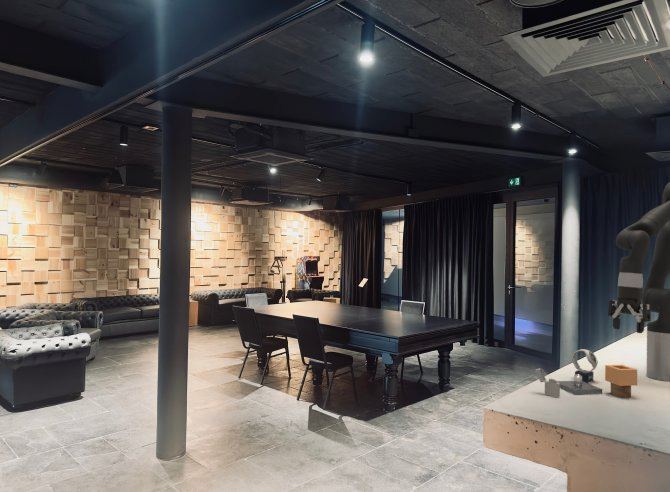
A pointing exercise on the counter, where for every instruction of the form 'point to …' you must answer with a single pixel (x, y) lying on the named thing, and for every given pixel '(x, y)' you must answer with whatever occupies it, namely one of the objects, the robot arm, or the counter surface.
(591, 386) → the gray square plate
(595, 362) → the watch
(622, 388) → the stand
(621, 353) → the counter surface
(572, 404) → the counter surface
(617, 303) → the robot arm
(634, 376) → the orange square tube
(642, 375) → the counter surface
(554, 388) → the lighter
